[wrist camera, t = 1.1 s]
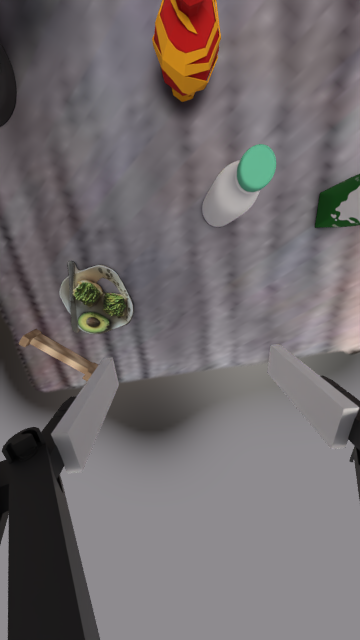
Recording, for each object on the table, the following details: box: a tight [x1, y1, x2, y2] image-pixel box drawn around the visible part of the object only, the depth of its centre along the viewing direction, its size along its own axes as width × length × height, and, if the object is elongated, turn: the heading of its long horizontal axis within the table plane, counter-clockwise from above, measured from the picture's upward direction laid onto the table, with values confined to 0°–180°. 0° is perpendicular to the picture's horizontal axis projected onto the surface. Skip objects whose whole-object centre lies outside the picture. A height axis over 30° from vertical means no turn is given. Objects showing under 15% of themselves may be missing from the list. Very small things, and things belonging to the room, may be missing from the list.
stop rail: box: [19, 329, 98, 381], centre depth 49 cm, size 19×3×4 cm, turn 51°
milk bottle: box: [202, 144, 276, 227], centre depth 31 cm, size 8×8×20 cm
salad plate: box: [60, 261, 134, 334], centre depth 44 cm, size 19×18×5 cm
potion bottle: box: [152, 0, 221, 102], centre depth 26 cm, size 10×10×15 cm
